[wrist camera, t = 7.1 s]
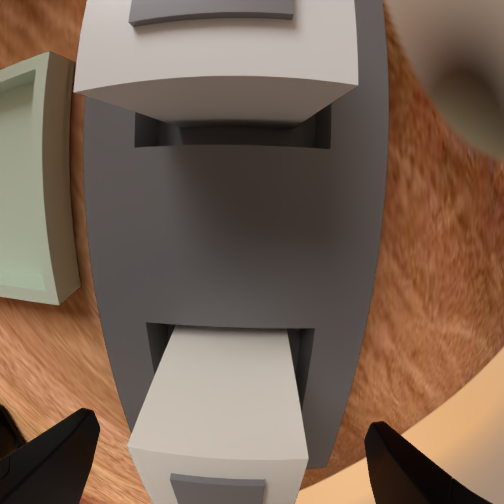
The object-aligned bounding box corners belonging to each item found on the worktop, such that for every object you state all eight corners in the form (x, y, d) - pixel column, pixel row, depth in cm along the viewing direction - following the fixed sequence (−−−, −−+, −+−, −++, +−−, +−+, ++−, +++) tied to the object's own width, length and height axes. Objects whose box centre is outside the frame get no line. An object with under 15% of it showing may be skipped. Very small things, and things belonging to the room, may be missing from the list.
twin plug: (293, 128, 10) (363, 81, 3) (179, 127, 10) (66, 90, 3) (294, 27, 9) (341, -103, 2) (184, 27, 9) (110, -92, 2)
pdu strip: (317, 425, 15) (326, 471, 12) (154, 419, 15) (139, 463, 12) (344, -66, 8) (363, -105, 5) (148, -66, 8) (127, -103, 5)
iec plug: (276, 388, 13) (288, 528, 7) (189, 384, 13) (157, 519, 7) (283, 312, 12) (309, 465, 5) (182, 309, 12) (124, 452, 5)
